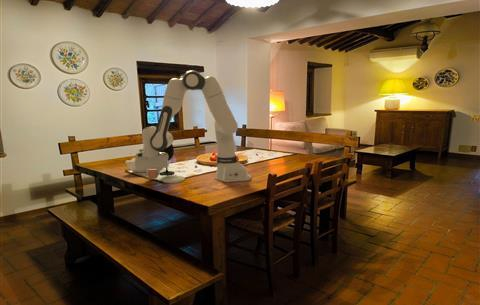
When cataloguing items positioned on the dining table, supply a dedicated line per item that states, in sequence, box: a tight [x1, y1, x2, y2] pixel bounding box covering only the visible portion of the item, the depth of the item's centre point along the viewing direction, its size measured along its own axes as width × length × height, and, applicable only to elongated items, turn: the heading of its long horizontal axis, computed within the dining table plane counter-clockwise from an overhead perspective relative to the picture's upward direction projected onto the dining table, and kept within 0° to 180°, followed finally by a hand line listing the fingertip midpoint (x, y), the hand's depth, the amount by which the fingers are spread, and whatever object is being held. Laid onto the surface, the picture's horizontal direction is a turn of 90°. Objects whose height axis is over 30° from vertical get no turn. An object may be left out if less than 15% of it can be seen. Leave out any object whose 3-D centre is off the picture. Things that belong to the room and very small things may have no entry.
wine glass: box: [158, 143, 176, 176], centre depth 206 cm, size 10×10×20 cm
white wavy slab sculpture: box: [124, 157, 158, 174], centre depth 222 cm, size 35×16×11 cm, turn 163°
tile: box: [161, 175, 185, 184], centre depth 192 cm, size 14×14×1 cm
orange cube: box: [147, 169, 159, 180], centre depth 191 cm, size 5×5×5 cm
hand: (152, 174), depth 191 cm, fingers closed on orange cube, 5 cm apart
